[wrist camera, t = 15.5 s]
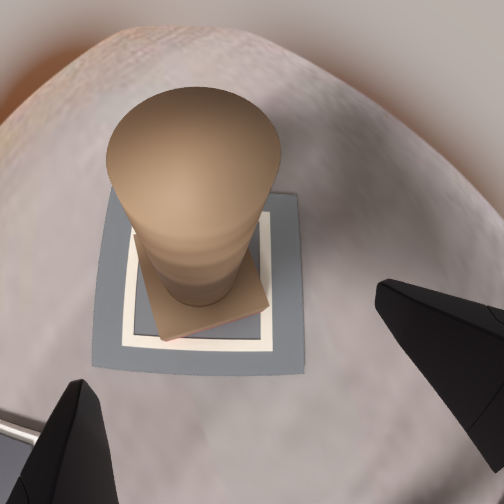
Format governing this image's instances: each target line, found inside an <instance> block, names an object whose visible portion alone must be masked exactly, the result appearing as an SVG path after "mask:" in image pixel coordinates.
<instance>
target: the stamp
mask: <svg viewBox="0 0 504 504" xmlns="http://www.w3.org/2000/svg"><path fill="white" fill-rule="evenodd" d="M280 159H281V148H280V142H279V138H278V135H277V132H276V130H275V128H274V126H273V125H272V123H271V121H270V120H269V119H268V118H267V116H266V115H265V114H264V113H263V112H262V111H261V110H260V109H259V108H258V107H256V106H255V105H254V104H252V103H251V102H249V101H248V100H246V99H244V98H243V97H240V96H238V95H236V94H234V93H231V92H228V91H224V90H220V89H216V88H208V87H185V88H178V89H173V90H169V91H166V92H163V93H160V94H157V95H155V96H153V97H151V98H148V99H147V100H145V101H143V102H142V103H140V104H138V105H137V106H136V107H134V108H133V109H132V110H131V111H130V112H129V113H128V114H126V115H125V116H124V118H123V119H122V120H121V121H120V122H119V124H118V125H117V127H116V128H115V130H114V132H113V134H112V136H111V138H110V141H109V144H108V148H107V154H106V167H107V172H108V176H109V179H110V181H111V184H112V186H113V188H114V190H115V192H116V194H117V197H118V199H119V201H120V203H121V205H122V207H123V209H124V211H125V213H126V215H127V217H128V219H129V221H130V223H131V225H132V227H133V229H134V231H135V233H136V234H134V235H133V236H134V241H135V246H136V250H137V254H138V259H139V263H140V267H141V271H142V275H143V279H144V283H145V287H146V291H147V295H148V298H149V302H150V306H151V309H152V313H153V316H154V320H155V323H156V326H157V330H158V333H159V336H160V339H161V340H162V341H165V342H167V341H171V340H174V339H178V338H181V337H184V336H188V335H191V334H194V333H198V332H201V331H204V330H207V329H211V328H214V327H217V326H220V325H223V324H226V323H230V322H233V321H236V320H239V319H242V318H245V317H248V316H251V315H254V314H257V313H260V312H262V311H264V310H265V309H266V308H268V307H269V306H270V305H269V302H268V299H267V297H266V294H265V291H264V288H263V286H262V283H261V280H260V277H259V275H258V272H257V269H256V267H255V264H254V261H253V258H252V256H251V253H250V250H249V247H248V245H249V243H250V240H251V238H252V235H253V233H254V230H255V228H256V225H257V223H258V220H259V218H260V215H261V213H262V210H263V208H264V205H265V203H266V200H267V197H268V195H269V192H270V190H271V187H272V185H273V182H274V180H275V177H276V175H277V172H278V169H279V165H280Z"/></svg>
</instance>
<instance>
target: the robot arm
mask: <svg viewBox="0 0 504 504" xmlns="http://www.w3.org/2000/svg"><path fill="white" fill-rule="evenodd" d="M375 308H376V310H377V312H378V313H379V315H380V316H381V318H382V319H383V321H384V322H385V324H386V325H387V327H388V328H389V330H390V331H391V333H392V334H393V336H394V338H395V339H396V341H397V342H398V343H399V345H400V346H401V347H402V349H403V350H404V351H405V353H406V354H407V355H408V356H409V358H410V359H411V360H412V361H413V363H414V364H415V365H416V366H417V368H418V369H419V370H420V372H421V373H422V374H423V375H424V377H425V378H426V379H427V380H428V382H429V383H430V384H431V386H432V387H433V388H434V390H435V391H436V392H437V394H438V395H439V396H440V397H441V399H442V400H443V401H444V403H445V404H446V405H447V407H448V408H449V409H450V411H451V412H452V414H453V415H454V416H455V418H456V419H457V420H458V422H459V423H460V424H461V426H462V427H463V429H464V430H465V431H466V432H467V434H468V436H469V437H470V439H471V440H472V441H473V443H474V444H475V446H476V447H477V449H478V450H479V451H480V453H481V454H482V456H483V457H484V459H485V460H486V462H487V463H488V465H489V466H490V468H491V469H492V471H493V472H494V473H497V472H498V471H499V470H501V469H502V468H503V467H504V310H502V309H498V308H494V307H491V306H486V305H484V304H480V303H477V302H473V301H469V300H466V299H462V298H459V297H455V296H452V295H448V294H444V293H441V292H437V291H433V290H430V289H426V288H422V287H419V286H415V285H412V284H408V283H404V282H401V281H397V280H393V279H386V280H383V281H381V282H379V283H378V285H377V288H376V296H375ZM5 504H119V502H118V497H117V492H116V486H115V481H114V475H113V468H112V462H111V455H110V449H109V444H108V440H107V435H106V431H105V426H104V421H103V416H102V411H101V406H100V402H99V399H98V397H97V395H96V394H95V393H94V391H93V390H92V389H91V387H90V386H89V385H88V383H87V382H86V381H85V380H84V379H79V380H74V381H71V382H70V383H69V385H68V386H67V388H66V390H65V391H64V393H63V395H62V396H61V398H60V400H59V401H58V403H57V405H56V407H55V408H54V410H53V412H52V414H51V415H50V417H49V419H48V421H47V423H46V424H45V426H44V428H43V430H42V432H41V434H40V435H39V437H38V439H37V441H36V443H35V445H34V447H33V449H32V451H31V453H30V455H29V456H28V458H27V460H26V462H25V464H24V466H23V469H22V471H21V473H20V476H19V477H18V479H17V481H16V483H15V485H14V487H13V489H12V491H11V493H10V495H9V498H8V500H7V501H6V503H5Z"/></svg>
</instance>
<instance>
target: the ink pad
mask: <svg viewBox="0 0 504 504" xmlns="http://www.w3.org/2000/svg"><path fill="white" fill-rule="evenodd" d="M40 434H41V433H40V432H37V431H34V430H30V429H27V428H24V427H21V426H18V425H15V424H12V423H9V422H7V421H4V420H1V419H0V504H5V503H6V501H7V500H8V498H9V495H10V493H11V491H12V489H13V487H14V485H15V483H16V481H17V479H18V477H19V476H20V473H21V471H22V469H23V466H24V464H25V462H26V460H27V458H28V456H29V455H30V453H31V451H32V449H33V447H34V445H35V443H36V441H37V439H38V437H39V435H40Z"/></svg>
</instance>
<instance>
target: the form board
mask: <svg viewBox="0 0 504 504" xmlns="http://www.w3.org/2000/svg"><path fill="white" fill-rule="evenodd" d="M134 234H136V233H135V231H134V229H133V227H132V225H131V223H130V221H129V219H128V217H127V215H126V213H125V211H124V209H123V207H122V205H121V203H120V201H119V199H118V197H117V194H116V192H115V190H114V188H113V187H112V188H111V193H110V198H109V203H108V208H107V213H106V219H105V224H104V230H103V236H102V243H101V250H100V257H99V265H98V273H97V282H96V292H95V304H94V317H93V336H92V366H93V367H100V368H108V369H116V370H125V371H135V372H146V373H159V374H175V375H197V376H270V375H292V374H304V326H303V295H302V272H301V252H300V235H299V219H298V205H297V195H288V194H276V193H269V195H268V197H267V200H266V203H265V205H264V208H263V210H262V213H261V215H260V218H259V220H258V223H257V225H256V228H255V230H254V233H253V235H252V238H251V240H250V243H249V245H248V247H249V250H250V253H251V256H252V258H253V261H254V264H255V267H256V269H257V272H258V275H259V277H260V280H261V283H262V286H263V288H264V291H265V294H266V297H267V299H268V302H269V305H270V306H269V307H268V308H266V309H265V310H264V311H262V312H260V313H257V314H254V315H251V316H248V317H245V318H242V319H239V320H236V321H233V322H230V323H226V324H223V325H220V326H217V327H214V328H211V329H207V330H204V331H201V332H198V333H194V334H191V335H188V336H184V337H181V338H178V339H174V340H171V341H167V342H165V341H162V340H161V339H160V336H159V333H158V330H157V326H156V323H155V320H154V316H153V313H152V309H151V306H150V302H149V298H148V295H147V291H146V287H145V283H144V279H143V275H142V271H141V267H140V263H139V259H138V254H137V250H136V246H135V241H134V236H133V235H134Z"/></svg>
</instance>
